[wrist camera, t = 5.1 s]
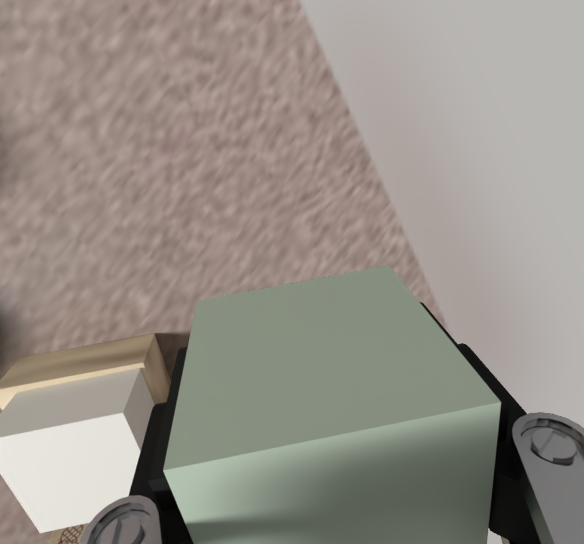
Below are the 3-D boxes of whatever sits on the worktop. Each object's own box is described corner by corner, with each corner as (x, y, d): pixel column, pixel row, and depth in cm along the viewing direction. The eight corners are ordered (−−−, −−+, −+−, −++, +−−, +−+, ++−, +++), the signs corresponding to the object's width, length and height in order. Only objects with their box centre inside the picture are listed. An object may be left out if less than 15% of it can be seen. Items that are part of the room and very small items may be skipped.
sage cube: (196, 300, 10) (163, 470, 6) (389, 265, 10) (501, 402, 6) (237, 440, 12) (235, 643, 8) (396, 409, 13) (482, 589, 8)
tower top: (16, 392, 23) (-22, 441, 20) (140, 368, 23) (122, 412, 20) (65, 478, 26) (40, 533, 22) (175, 455, 26) (165, 506, 23)
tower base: (22, 354, 26) (-10, 391, 23) (155, 329, 26) (143, 362, 23) (72, 450, 29) (50, 494, 26) (189, 428, 30) (182, 468, 26)
